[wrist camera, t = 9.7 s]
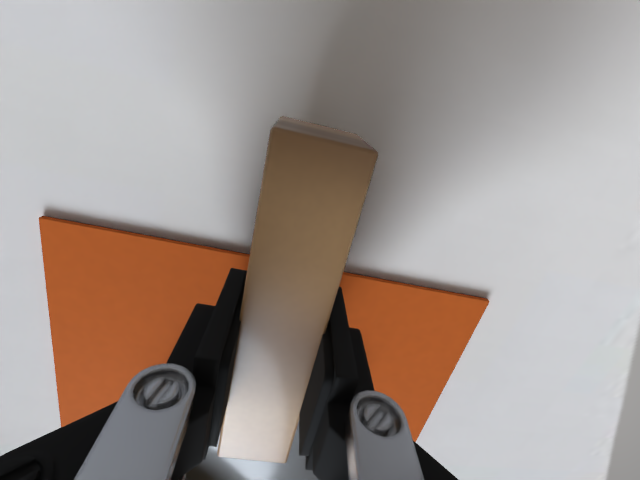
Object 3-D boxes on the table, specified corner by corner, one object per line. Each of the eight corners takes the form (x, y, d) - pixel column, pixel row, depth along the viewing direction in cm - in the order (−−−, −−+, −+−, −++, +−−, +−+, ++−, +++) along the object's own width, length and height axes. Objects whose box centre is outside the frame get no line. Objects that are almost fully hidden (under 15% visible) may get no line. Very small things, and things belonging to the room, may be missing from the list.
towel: (42, 215, 11) (38, 217, 11) (487, 298, 13) (489, 301, 13) (78, 562, 19) (76, 566, 19) (342, 576, 22) (342, 580, 21)
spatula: (187, 93, 9) (138, 94, 6) (439, 153, 9) (489, 177, 7) (162, 474, 15) (133, 553, 12) (315, 487, 16) (317, 564, 13)
